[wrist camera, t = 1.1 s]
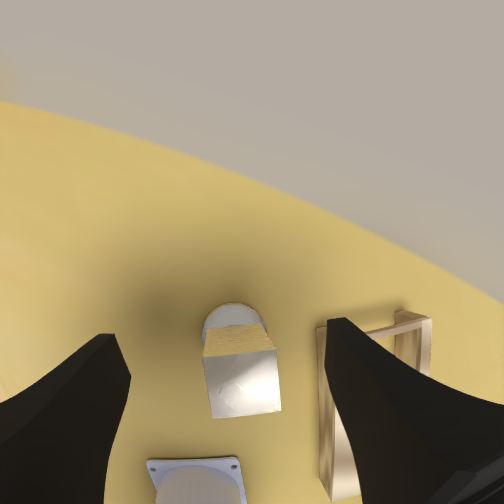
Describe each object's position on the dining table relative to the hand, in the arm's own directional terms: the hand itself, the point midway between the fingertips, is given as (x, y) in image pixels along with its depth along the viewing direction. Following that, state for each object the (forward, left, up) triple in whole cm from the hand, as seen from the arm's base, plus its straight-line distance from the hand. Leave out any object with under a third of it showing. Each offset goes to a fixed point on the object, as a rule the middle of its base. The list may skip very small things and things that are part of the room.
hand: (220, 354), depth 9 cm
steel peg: (-2, -1, -11) cm, 12 cm away
